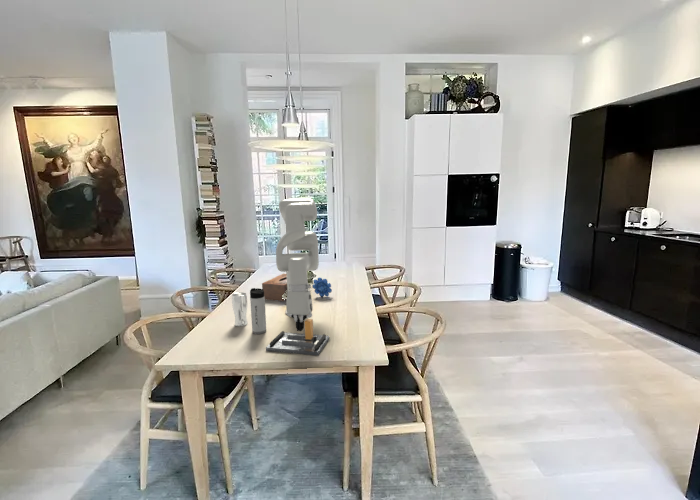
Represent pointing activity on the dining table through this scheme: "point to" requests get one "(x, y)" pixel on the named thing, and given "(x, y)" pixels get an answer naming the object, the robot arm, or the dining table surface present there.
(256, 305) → the travel mug
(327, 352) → the dining table surface
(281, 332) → the tray
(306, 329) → the lever
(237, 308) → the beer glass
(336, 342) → the dining table surface
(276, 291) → the tissue box cover
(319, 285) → the blue lobed wheel
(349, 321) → the dining table surface
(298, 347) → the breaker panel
